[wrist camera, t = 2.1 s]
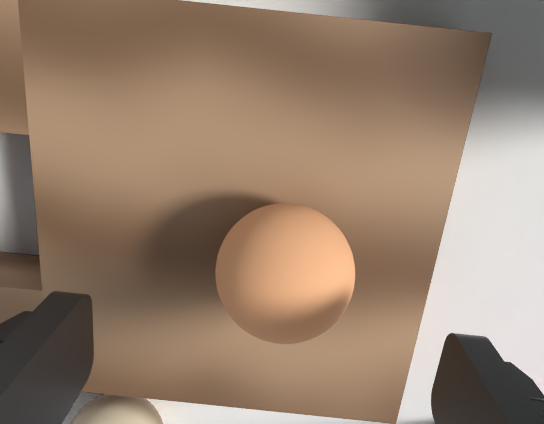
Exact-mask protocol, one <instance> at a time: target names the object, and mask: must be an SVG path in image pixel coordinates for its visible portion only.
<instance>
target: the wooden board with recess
mask: <svg viewBox="0 0 544 424" xmlns="http://www.w3.org/2000/svg"><path fill="white" fill-rule="evenodd" d="M491 35H492V33H485V32H475V31H466V30H456V29H447V28H437V27H428V26H418V25H409V24H399V23H390V22H380V21H371V20H361V19H352V18H342V17H333V16H323V15H314V14H304V13H295V12H285V11H276V10H266V9H257V8H247V7H238V6H228V5H219V4H209V3H200V2H190V1H181V0H0V132H3V133H12V134H22V135H29V139H30V151H31V163H32V175H33V186H34V198H35V210H36V222H37V234H38V246H39V256H35V255H25V254H16V253H6V252H0V324H1V323H2V322H4V321H6V320H8V319H10V318H12V317H14V316H16V315H17V314H19V313H21V312H23V311H32V312H33V311H34V309H35V308H36V307H37V306H38V305H39V304H40V303H41V302H42V301H43V300H44V299H45V298H46V297H47V296H48V295H49V294H50V293H51V292H53V291H61V292H70V293H80V294H88V295H90V297H91V299H92V310H93V339H94V359H93V365H92V369H91V373H90V375H89V378H88V380H87V382H86V384H85V386H84V387H83V389H82V391H81V392H91V393H100V394H110V395H120V396H129V397H139V398H149V399H159V400H168V401H178V402H188V403H197V404H207V405H217V406H227V407H236V408H246V409H256V410H265V411H275V412H285V413H295V414H304V415H314V416H324V417H333V418H343V419H353V420H363V421H372V422H382V423H392V424H396V421H397V417H398V413H399V409H400V405H401V400H402V396H403V392H404V388H405V384H406V380H407V376H408V372H409V368H410V364H411V360H412V356H413V352H414V348H415V344H416V340H417V335H418V331H419V327H420V323H421V319H422V315H423V311H424V307H425V303H426V299H427V295H428V291H429V287H430V283H431V279H432V275H433V271H434V266H435V262H436V258H437V254H438V250H439V246H440V242H441V238H442V234H443V230H444V226H445V222H446V218H447V214H448V210H449V206H450V201H451V197H452V193H453V189H454V185H455V181H456V177H457V173H458V169H459V165H460V161H461V157H462V153H463V149H464V145H465V141H466V136H467V132H468V128H469V124H470V120H471V116H472V112H473V108H474V104H475V100H476V96H477V92H478V88H479V84H480V80H481V76H482V71H483V67H484V63H485V59H486V55H487V51H488V47H489V43H490V39H491ZM280 203H292V204H298V205H303V206H306V207H309V208H312V209H314V210H316V211H318V212H320V213H322V214H323V215H325V216H326V217H327V218H329V219H330V220H331V221H332V222H333V223H334V224H335V225H336V226H337V227H338V228H339V229H340V231H341V232H342V233H343V235H344V236H345V238H346V240H347V242H348V244H349V246H350V248H351V251H352V254H353V259H354V264H355V283H354V289H353V293H352V297H351V299H350V301H349V304H348V306H347V308H346V310H345V311H344V313H343V314H342V316H341V317H340V318H339V319H338V321H337V322H336V323H335V324H334V325H333V326H332V327H331V328H329V329H328V330H327V331H325V332H324V333H322V334H321V335H319V336H317V337H315V338H312V339H310V340H307V341H304V342H300V343H295V344H277V343H271V342H267V341H264V340H261V339H259V338H256V337H254V336H252V335H251V334H249V333H247V332H246V331H244V330H243V329H242V328H241V327H239V326H238V325H237V324H236V323H235V322H234V320H233V319H232V318H231V317H230V316H229V314H228V313H227V311H226V310H225V308H224V306H223V304H222V302H221V299H220V297H219V294H218V290H217V285H216V273H215V269H216V262H217V256H218V253H219V250H220V247H221V245H222V243H223V241H224V239H225V237H226V235H227V234H228V232H229V231H230V230H231V229H232V227H233V226H234V225H235V224H236V223H237V222H238V221H239V220H241V219H242V218H243V217H244V216H246V215H247V214H249V213H250V212H252V211H254V210H256V209H258V208H261V207H264V206H267V205H272V204H280Z"/></svg>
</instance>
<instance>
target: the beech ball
mask: <svg viewBox="0 0 544 424" xmlns="http://www.w3.org/2000/svg"><path fill="white" fill-rule="evenodd" d="M71 424H163V422H162V419H161V417H160V415H159V413H158V411H157V410H156V408H155V407H154V406H153V405H152V404H151V403H150V402H149V401H148V400H146V399H145V398H139V397H129V396H120V395H110V394H105V395H102V396H99V397H97V398H96V399H94V400H92V401H91V402H89V403H88V404H87V405H85V406H84V407H83V408H82V409H81V410H80V411H79V412H78V414H77V415H76V416H75V417H74V419H73V420H72V422H71Z"/></svg>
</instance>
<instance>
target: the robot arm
mask: <svg viewBox="0 0 544 424" xmlns="http://www.w3.org/2000/svg"><path fill="white" fill-rule="evenodd" d="M93 359H94V339H93V310H92V299H91V297H90V295H88V294H80V293H70V292H61V291H53V292H51V293H50V294H49V295H48V296H47V297H46V298H45V299H44V300H43V301H42V302H41V303H40V304H39V305H38V306H37V307H36V308H35V309H34V311H33V312H32V311H23V312H21V313H19V314H17V315H16V316H14V317H12V318H10V319H8V320H6V321H4V322H2V323H1V324H0V424H62V422H63V420H64V419H65V417H66V415H67V414H68V412H69V410H70V409H71V407H72V405H73V404H74V402H75V400H76V399H77V397H78V395H79V394H80V392H81V391H82V389H83V387H84V386H85V384H86V382H87V380H88V378H89V375H90V373H91V369H92V365H93ZM431 407H432V414H433V418H434V421H435V423H436V424H544V395H543V394H542V392H541V391H540V389H539V388H538V387H537V385H536V384H535V383H534V381H533V380H532V379H531V378H530V377H528V376H527V375H526V374H525V373H523V372H522V371H521V370H520V369H518V368H517V367H516V366H515V365H513V364H512V363H511V362H504V361H503V359H502V358H501V356H500V355H499V353H498V352H497V350H496V349H495V348H494V346H493V345H492V343H491V342H490V340H489V339H488V338H486V337H483V336H474V335H464V334H455V333H451V334H449V335H448V336H447V338H446V340H445V343H444V346H443V350H442V354H441V358H440V362H439V365H438V369H437V373H436V377H435V380H434V384H433V388H432V394H431Z"/></svg>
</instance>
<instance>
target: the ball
mask: <svg viewBox="0 0 544 424" xmlns="http://www.w3.org/2000/svg"><path fill="white" fill-rule="evenodd" d="M215 273H216V285H217V290H218V294H219V297H220V299H221V302H222V304H223V306H224V308H225V310H226V311H227V313H228V314H229V316H230V317H231V318H232V319H233V320H234V322H235V323H236V324H237V325H238V326H239V327H241V328H242V329H243V330H244V331H246V332H247V333H249V334H251V335H252V336H254V337H256V338H259V339H261V340H264V341H267V342H271V343H277V344H295V343H300V342H304V341H307V340H310V339H312V338H315V337H317V336H319V335H321V334H322V333H324V332H325V331H327V330H328V329H329V328H331V327H332V326H333V325H334V324H335V323H336V322H337V321H338V319H339V318H340V317H341V316H342V314H343V313H344V311H345V310H346V308H347V306H348V304H349V301H350V299H351V297H352V293H353V289H354V283H355V264H354V259H353V254H352V251H351V248H350V246H349V244H348V242H347V240H346V238H345V236H344V235H343V233H342V232H341V231H340V229H339V228H338V227H337V226H336V225H335V224H334V223H333V222H332V221H331V220H330V219H329V218H327V217H326V216H325V215H323V214H322V213H320V212H318V211H316V210H314V209H312V208H309V207H306V206H303V205H298V204H292V203H280V204H272V205H267V206H264V207H261V208H258V209H256V210H254V211H252V212H250V213H249V214H247V215H246V216H244V217H243V218H242V219H241V220H239V221H238V222H237V223H236V224H235V225H234V226H233V227H232V229H231V230H230V231H229V232H228V234H227V235H226V237H225V239H224V241H223V243H222V245H221V247H220V250H219V253H218V256H217V262H216V269H215Z"/></svg>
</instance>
